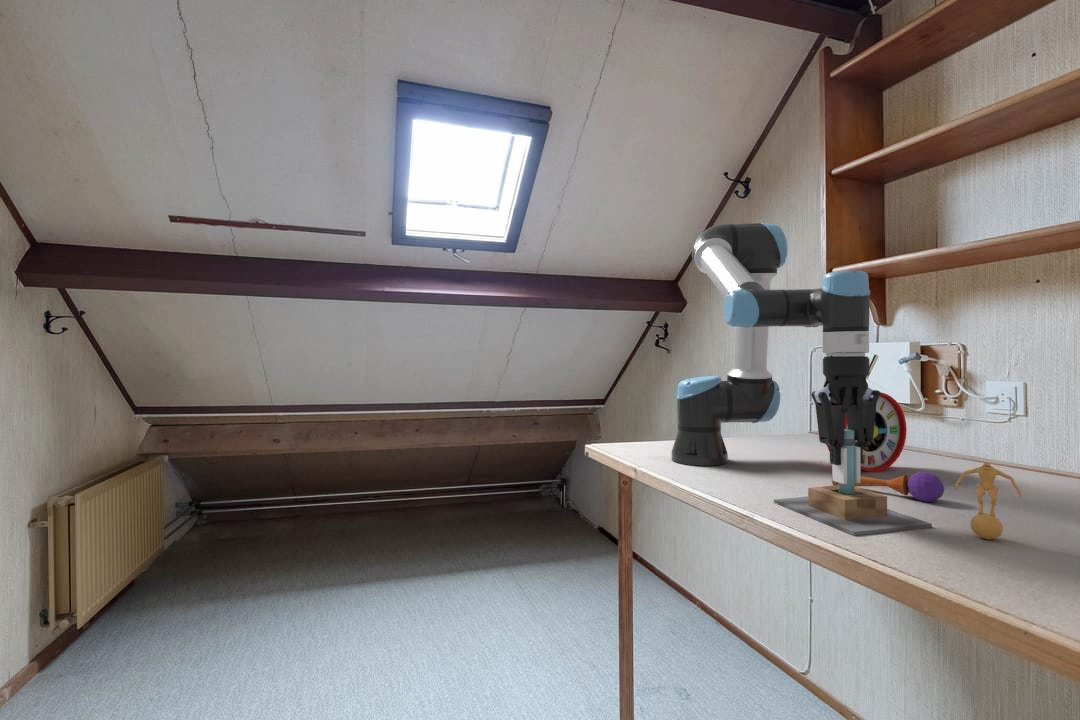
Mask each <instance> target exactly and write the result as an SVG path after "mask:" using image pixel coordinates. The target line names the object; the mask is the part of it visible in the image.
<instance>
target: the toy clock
mask: <svg viewBox="0 0 1080 720" xmlns="http://www.w3.org/2000/svg"><path fill="white" fill-rule="evenodd" d="M837 406H840V405H837ZM845 429H848V425H847V416H846V418H845ZM907 430H908V429H907V422H906V416H905V414H904V411H903V408H901V405H900V404H899V403H898V402H897V400H896V399H895V398H894V397H892V396H891V395H889V394H887V393H885V392H882V391H880V396H879V398H878V401H877V404H876V414H875V424H874V434H873V441H872V442H871V443H869V442H868V443H867V444H868V446H867V447H863V461H862V463H861V471H865V472H868V473H869V472H870V473H877V472H883V471H884V470H886V469H888V468H890V467H892V465H893V464H895V462H896V461H897V460H898V458H899V457H900V455H901V454H902V452H903V449H904V447H905V443H906V440H907ZM835 440H836V439H835ZM826 447H827V449H828V451H829V453H830V447H829V446H828V445H826Z"/></svg>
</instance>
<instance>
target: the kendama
mask: <svg viewBox="0 0 1080 720" xmlns="http://www.w3.org/2000/svg"><path fill="white" fill-rule="evenodd" d="M831 483H832V486H834V485H839V482H836V481H832V480H831ZM855 487H888V488H890V489H892V490H894V491H896V492H898V493H900V494H902V495H904V496H907V497H908V495H909V494H910V495H911V497H913V499H916V500H917V501H920V502H925V503H926V502H927V503H933V502H936V501H938V500H939V499H940V498H942V497H943V495H944V492H945V485H944V484H943V481H942V479H941V478H939V477H938V476H937V475H936V474H934V473H931V472H929V471H918V472H915V473H913V474H912V475H911V476H910V477H909V476H908V475H907V474H904V475H901V476H898V477H895V478H891V479H887V480H884V479H877V478H872V477H867V476H862V475H861V483H856V482H855Z"/></svg>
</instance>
